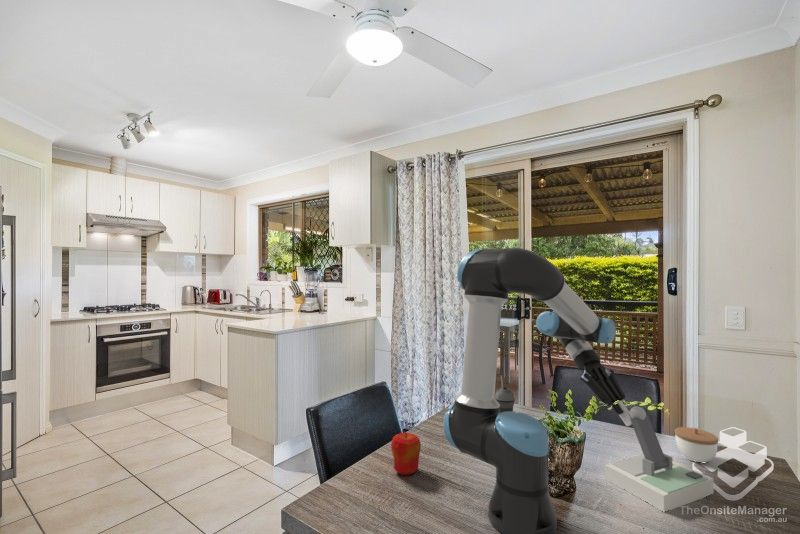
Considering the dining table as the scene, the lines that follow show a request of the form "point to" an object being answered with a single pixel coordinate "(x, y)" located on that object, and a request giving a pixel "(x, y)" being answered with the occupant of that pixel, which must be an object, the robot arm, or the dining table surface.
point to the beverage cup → (504, 399)
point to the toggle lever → (647, 438)
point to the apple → (406, 453)
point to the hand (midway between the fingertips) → (631, 423)
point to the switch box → (659, 482)
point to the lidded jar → (696, 443)
